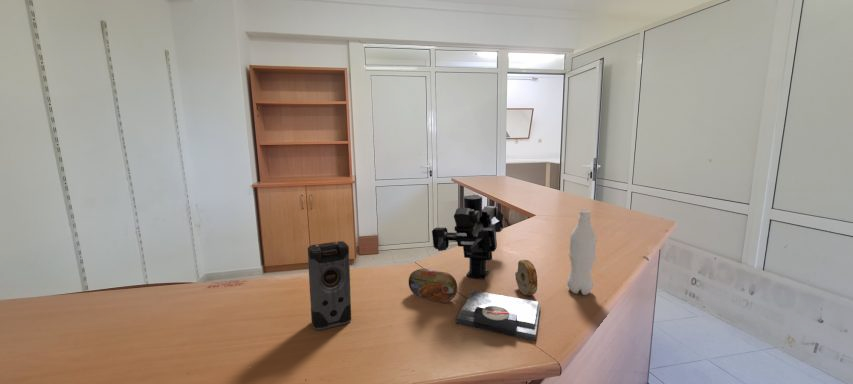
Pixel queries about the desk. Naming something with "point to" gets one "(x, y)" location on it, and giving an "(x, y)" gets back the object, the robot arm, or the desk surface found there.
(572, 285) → the water bottle
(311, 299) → the electronic device
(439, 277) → the tin
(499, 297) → the dial scale
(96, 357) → the desk surface
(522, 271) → the stone disc
